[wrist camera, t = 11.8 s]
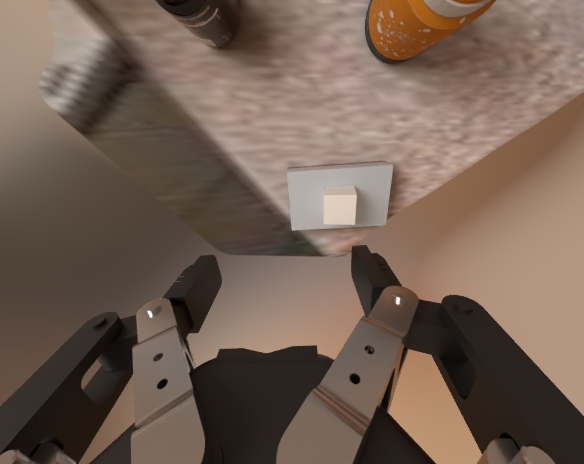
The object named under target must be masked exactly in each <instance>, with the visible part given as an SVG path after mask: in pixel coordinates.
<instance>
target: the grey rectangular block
mask: <svg viewBox="0 0 584 464" xmlns="http://www.w3.org/2000/svg"><path fill="white" fill-rule="evenodd" d="M392 173H393V164H390V163H388V162H386V161H375V162H361V163H347V164H332V165H318V166H304V167H290V168H288V171H287V177H288V189H289V201H290V213H291V225H292V230H309V229H329V228H348V227H367V226H386V220H387V212H388V204H389V196H390V189H391V181H392ZM352 185H354V187H355V190H356V194H357V200H356V215H355V225H334V224H324V190H325V187H333V186H352Z"/></svg>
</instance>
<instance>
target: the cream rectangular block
mask: <svg viewBox="0 0 584 464" xmlns="http://www.w3.org/2000/svg"><path fill="white" fill-rule="evenodd" d="M356 200H357V194H356V190H355V187H354V185H352V186H333V187H325V190H324V224H334V225H355V215H356Z"/></svg>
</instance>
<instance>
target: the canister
mask: <svg viewBox="0 0 584 464" xmlns="http://www.w3.org/2000/svg"><path fill="white" fill-rule="evenodd" d="M495 1H496V0H371V2H370V4H369V7H368V10H367V13H366V19H365V35H366V40H367V43H368V46H369V48H370V50H371V52H372V53H373V54H374V55H375V56H376V57H377V58H378V59H380V60H381V61H383V62H386V63H393V64H394V63H400V62H404V61H406V60H408V59H410V58H412V57H413V56H415V55H417V54H418V53H420V52H422V51H423V50H425V49H427V48H428V47H430V46H432V45H433V44H435V43H437V42H438V41H440V40H441V39H443V38H445V37H446V36H448V35H450V34H451V33H453V32H455V31H456V30H458V29H460V28H461V27H463V26H465V25H466V24H468V23H470V22H471V21H473V20H474V19H476V18H477V17H479V16H480V15H481V14H483V13H484V12H485V11H486V10H487V9H488V8H489V7H490V6H491V5H492V4H493V3H494V2H495Z"/></svg>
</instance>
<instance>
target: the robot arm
mask: <svg viewBox="0 0 584 464" xmlns="http://www.w3.org/2000/svg"><path fill="white" fill-rule="evenodd" d="M351 273H352V279H353V282H354V285H355V287H356V290H357V293H358V296H359V299H360V302H361V305H362V308H363V310H364V313H365V316H366V317H365V316H363V317H362V318H361V319H360V320H359V322H358V324H357V325H356V327H355V328H354V330H353V332H352V333H351V335H350V336H349V338H348V340H347V341H346V343H345V345H344V346H343V348H342V349H341V351H340V353H339V354H338V356H337V357H336V359H335V360H333V359H331V358H329V357H327V356H324V355H321V354H317V346H292V347H288V348H285V349H281V350H278V351H274V352H271V353H262V352H257V351H253V350H248V349H244V348H237V349H220V350H219V352H218V355H217V357H216V358H214V359H212V360H209V361H208V362H205V363H203V364H201V365H200V366H198V367H197V368H196V365H195V362H194V359H193V356H192V352H191V349H190V346H189V343H188V341H187V338H186V337H187V335H188V334H189V333H198V332H199V330H200V328H201V326H202V324H203V322H204V320H205V318H206V316H207V314H208V312H209V310H210V308H211V306H212V304H213V301H214V299H215V297H216V295H217V293H218V291H219V289H220V287H221V283H222V278H221V274H220V270H219V267H218V263H217V260H216V257H215V256H214V255H205V256H200V257H199V258H198V259H197V261H196V262H195V263H194V265H191V266H189V267H188V268H187V269H185V270H184V271H183V272H182V274H181V275H180V277H178V279H177V280H176V282H175V283H174V284H173V285H172V286H171V288H170V289H169V290H168V291H167V293H166V294H165V295H164V296H163V298H161V299H157V300H154V301H151V302H150V303H148V304H146V305H144V306H143V307H142V308H141V309H140V310H139V311H138V313H137V315H134V316H130V317H127V318H123V319H120V318H119V316H118V314H117V313H116V312H106V313H103V314H100V315H98V316H96V317H94V318H92V319H90V320H89V321H87V322H86V323H85V324H84V325H83V326H82V327H81V328H80V329H79V330H78V331H77V332H76V333H75V334H74V335H73V336H72V337H71V338H69V340H68V341H66V342H65V343H64V344H63V345H62V346H61V347H60V348H59V350H58V351H56V352H55V353H54V354H53V355H52V356H51V357H50V358H49V359H48V360H47V361H46V362H45V363H44V364H43V365H42V366H41V367H40V368H39V369H38V370H37V371H36V372H35V373H34V374H33V375H32V376H31V377H30V378H29V379H28V380H27V381H26V382H25V383H24V384H23V385H22V386H21V387H20V388H19V389H18V390H17V391H16V392H15V393H14V394H13V395H12V396H11V397H10V398H9V399H8V400H6V401H5V402H4V403H3V404H2V405H1V406H0V464H78V463H79V461H80V460H81V458H82V457H83V455H84V453H85V452H86V450H87V448H88V447H89V445H90V443H91V442H92V440H93V439H94V437H95V435H96V433H97V432H98V430H99V429H100V427H101V426H102V424H103V422H104V420H105V419H106V417H107V416H108V414H109V412H110V411H111V409H112V408H113V406H114V404H115V403H116V401H117V399H118V398H119V396H120V395H121V393H122V391H123V390H124V388H125V386H126V385H127V383H128V381H129V380H130V378H131V377H132V375H133V379H134V405H135V423H133V424H132V425H131V426H130V427H129V428H128V429H127V430H126V431H125V432H124V433H122V434H121V435H120V436H119V437H118V438H117V439H116V440H115V441H114V442H112V444H110V445H109V446H108V447H107V448H106V449H105V450H104V451H103V452H101V453H100V454H99V455H98V456H97V457H96V458H95V459H94V460H93V461H92V462H90V463H89V464H436V463H435V462H434V461H433V460H432V459H431V458H430V457H429V456H428V455H427V454H426V453H425V451H424V450H423V449H422V448H421V447H420V446H419V445H418V444H417V443H416V442H415V441H414V440H413V439H412V438H411V437H410V436H409V434H408V433H407V432H405V430H404V429H403V428H402V427H401V426H400V425H399V424H398V423H397V422H396V421H395V420H394V419H393V418H392V416H391V415H390V414H389V413H388V412H389V408H390V406H391V402H392V399H393V396H394V392H395V388H396V385H397V382H398V379H399V376H400V373H401V370H402V367H403V364H404V361H405V358H406V356H407V353H408V350H409V349H411V350H415V351H419V352H423V353H427V354H431V355H432V357H433V359H434V361H435V363H436V365H437V367H438V369H439V371H440V373H441V375H442V377H443V378H444V381H445V382H446V384H447V386H448V388H449V390H450V392H451V394H452V396H453V398H454V400H455V402H456V404H457V406H458V408H459V410H460V412H461V414H462V416H463V417H464V420H465V422H466V424H467V425H468V427H469V429H470V431H471V433H472V435H473V437H474V439H475V441H476V443H477V445H478V447H479V449H480V451H481V453H482V456H481V458H480V459H479V461H478V462H477V464H584V416H583V415H582V414H581V413H580V412H579V411H578V409H577V408H575V406H574V405H573V404H572V403H571V402H570V401H569V400H568V399H567V398H566V397H565V395H564V394H563V393H562V392H561V391H560V390H559V389H558V388H557V387H556V386H555V385H554V384H553V382H552V381H551V380H550V379H549V378H548V377H547V376H546V375H545V374H544V373H543V372H542V371H541V370H540V368H539V367H538V366H537V365H536V364H535V363H534V362H533V361H532V360H531V359H530V358H529V357H528V356H527V354H526V353H525V352H524V351H523V350H522V349H521V348H520V347H519V346H518V345H517V344H516V343H515V342H514V340H513V339H512V338H511V337H510V336H509V335H508V334H507V333H506V332H505V331H504V330H503V328H502V327H501V326H500V325H499V324H498V323H497V322H496V321H495V320H494V319H493V318H492V317H491V316H490V314H489V313H488V312H487V311H486V310H485V309H484V308H483V307H482V306H481V305H479V304H478V303H477V302H475V301H473V300H471V299H469V298H467V297H464V296H459V295H449V296H446V297H444V298H443V300H442V303H436V302H430V301H424V300H420V299H418V297H417V295H416V294H415V293H414V292H413V291H411V290H409V289H407V288H405V287H402V285H401V284H400V282H399V281H398V279H397V278H396V276H395V274H394V273H393V272H392V270H391V268H390V267H389V265H388V264H387V262H386V260H385V259H384V258H383V257H382V256H380V255H379V254H377V253H371V252H370V251H369V249H368V247H367V245H359V246H352V259H351ZM96 359H97V360H98V361H99V363H101V365H102V366H101V367H100V369H99V370H98V371H97V372H96V374H95V375H94V376H93V378H92V379H91V380H90V382H89V383H88V384H87V385H86V387H85V388H84V390H82V388H81V381H82V378H83V376H84V374H85V373H86V372H87V370H88V369H89V368H90V367H91V365H92V364H93V363H94V362H95V361H96Z"/></svg>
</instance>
